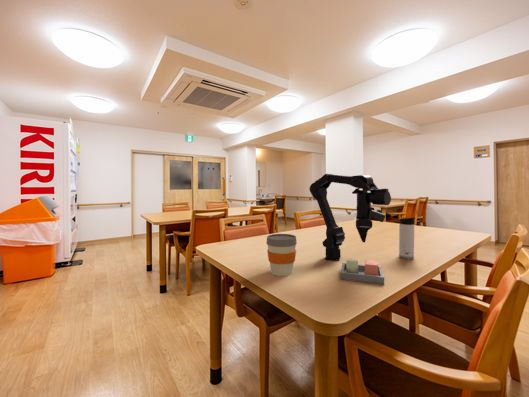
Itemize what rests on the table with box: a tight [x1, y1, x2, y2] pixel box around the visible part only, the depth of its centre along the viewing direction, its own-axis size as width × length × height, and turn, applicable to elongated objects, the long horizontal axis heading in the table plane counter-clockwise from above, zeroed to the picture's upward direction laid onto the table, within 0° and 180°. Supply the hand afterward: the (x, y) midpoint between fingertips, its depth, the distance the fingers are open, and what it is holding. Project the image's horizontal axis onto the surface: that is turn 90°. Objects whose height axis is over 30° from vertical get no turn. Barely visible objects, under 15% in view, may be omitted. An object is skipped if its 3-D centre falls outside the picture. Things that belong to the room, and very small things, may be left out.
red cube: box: [364, 260, 379, 276], centre depth 92 cm, size 4×4×5 cm
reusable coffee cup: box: [266, 233, 297, 277], centre depth 99 cm, size 13×12×15 cm
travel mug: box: [398, 217, 416, 260], centre depth 116 cm, size 6×7×20 cm
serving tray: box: [340, 262, 385, 285], centre depth 93 cm, size 15×12×3 cm
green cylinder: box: [345, 258, 359, 274], centre depth 94 cm, size 4×4×5 cm
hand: (363, 239), depth 103 cm, fingers open, 9 cm apart
